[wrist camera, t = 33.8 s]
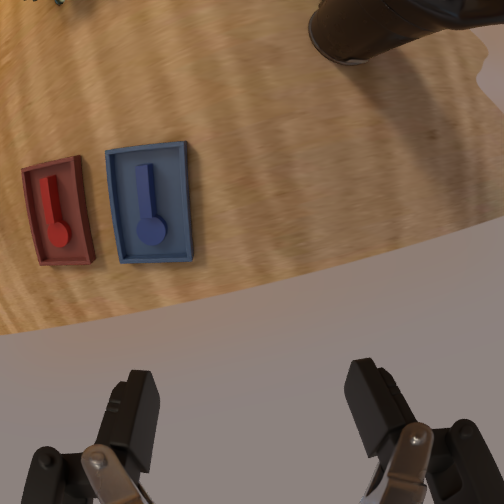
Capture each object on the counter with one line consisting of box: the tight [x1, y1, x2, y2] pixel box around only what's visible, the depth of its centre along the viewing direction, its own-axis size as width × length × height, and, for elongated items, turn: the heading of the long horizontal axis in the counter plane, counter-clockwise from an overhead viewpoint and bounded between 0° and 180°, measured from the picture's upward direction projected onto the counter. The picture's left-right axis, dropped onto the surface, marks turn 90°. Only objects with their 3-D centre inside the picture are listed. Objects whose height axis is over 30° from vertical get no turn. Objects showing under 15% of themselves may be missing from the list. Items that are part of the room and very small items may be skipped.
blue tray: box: [105, 141, 194, 264], centre depth 34 cm, size 15×10×2 cm
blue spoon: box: [135, 163, 168, 246], centre depth 34 cm, size 10×4×2 cm, turn 1°
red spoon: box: [39, 175, 72, 248], centre depth 32 cm, size 10×4×2 cm, turn 1°
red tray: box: [21, 155, 96, 266], centre depth 33 cm, size 15×10×2 cm
